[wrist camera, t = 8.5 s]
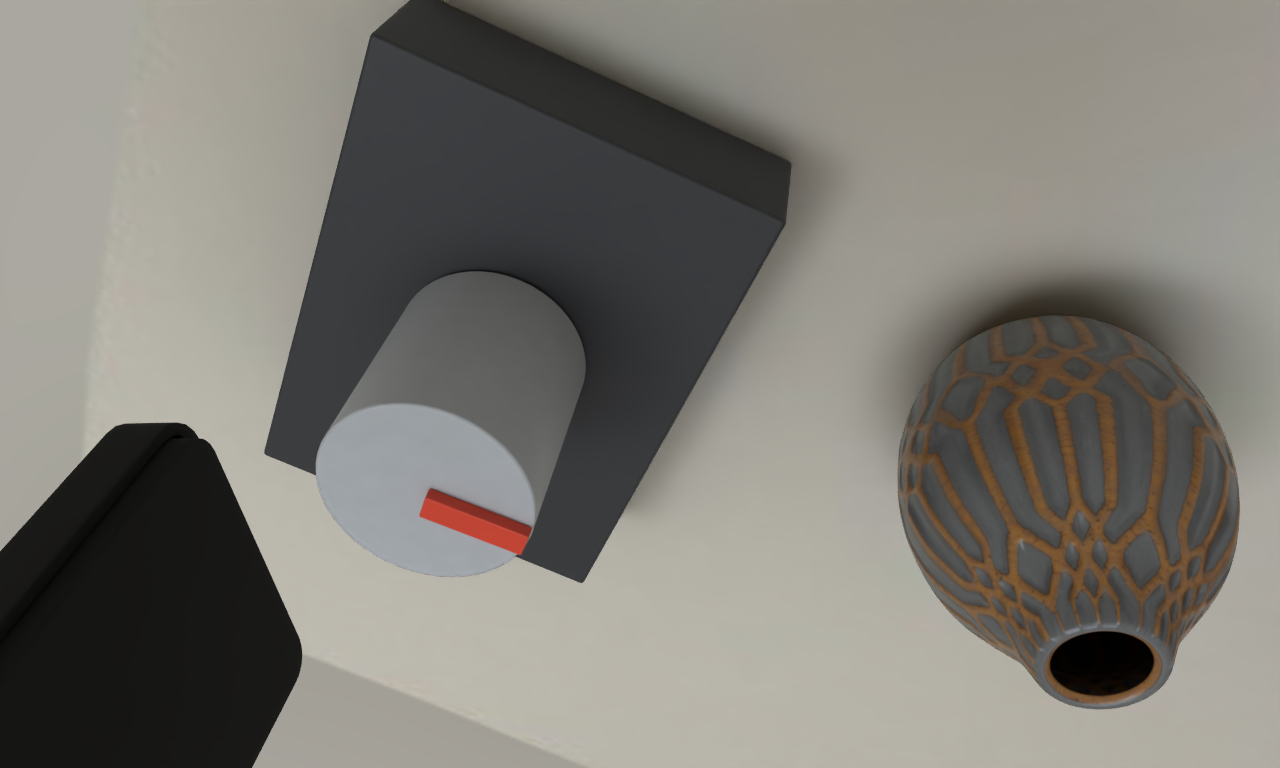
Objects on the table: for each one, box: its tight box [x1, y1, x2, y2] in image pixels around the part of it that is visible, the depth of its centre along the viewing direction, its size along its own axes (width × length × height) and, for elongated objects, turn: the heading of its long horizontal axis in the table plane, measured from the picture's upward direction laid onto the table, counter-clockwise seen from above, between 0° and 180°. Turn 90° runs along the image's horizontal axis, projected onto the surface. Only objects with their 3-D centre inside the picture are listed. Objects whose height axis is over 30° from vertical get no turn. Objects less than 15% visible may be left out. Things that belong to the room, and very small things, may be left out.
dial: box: [316, 271, 586, 577], centre depth 23 cm, size 4×4×5 cm
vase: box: [898, 315, 1240, 709], centre depth 23 cm, size 7×7×9 cm
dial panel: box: [264, 0, 791, 583], centre depth 26 cm, size 12×9×3 cm
